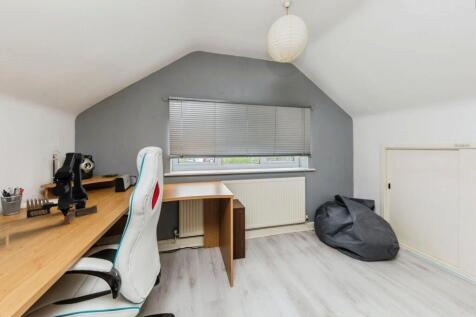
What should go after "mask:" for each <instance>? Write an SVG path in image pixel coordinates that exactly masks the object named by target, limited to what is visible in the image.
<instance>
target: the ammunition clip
mask: <svg viewBox="0 0 476 317" xmlns="http://www.w3.org/2000/svg"><path fill="white" fill-rule="evenodd" d="M47 202H50V200H49V197H48V196H46V198H45V197H42V198H40V197H39V198H38V199H37V198H34V199H33V198H31V199H30V200H29V199H28V198H27V199H26V202H25V203H26V206H25V208H26V219H31V218H36V217H42V216H46V215H50V214H52V213H51V212H52V211H51V209H48V210H42V205H43V204H44V203H47Z"/></svg>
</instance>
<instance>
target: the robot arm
mask: <svg viewBox="0 0 476 317" xmlns="http://www.w3.org/2000/svg"><path fill="white" fill-rule="evenodd" d="M84 159H85V155H84V154H83V153H82V152H66V153H65V159H64V160H63V163H62V166H61V167H60V168H57V170H56V171H55V173H54V176H53V181H52V185H55V186H54V187H52V188H51V193H52V194H51V195H53V196H55V197H58V198H57V202H53V201H49V202H47V203H46V202H45V203H44V204H43V205H42V211H43V210H46V211H47V210H48V209H50V210H51V209H52V208H57V210H59V211H60V212H61V213H62V215H63V217H64V218H65V216H66V215H69V211H70V209H73V208H74V209H76V210H79V209H83V208H87V207H86V205H87V201H89V195H88V193H87V191H86V188H84V187H83V182H82V180H83V178H82V169H81V168H82V167H81V166H82V164H83V162H84ZM72 184H73V185H72Z"/></svg>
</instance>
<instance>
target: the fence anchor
mask: <svg viewBox="0 0 476 317" xmlns="http://www.w3.org/2000/svg"><path fill="white" fill-rule="evenodd" d="M72 211H75V218H77V217H82V216H86V215H90V214H95V213H98V205H97V204H96V205H95V204H94V205H91V206H88V207H86V208H83V209H79V210H76V209H75V208H74V209H71V212H72Z"/></svg>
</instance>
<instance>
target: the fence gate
mask: <svg viewBox="0 0 476 317" xmlns="http://www.w3.org/2000/svg"><path fill="white" fill-rule="evenodd" d="M75 219H76V217H75V211H72V210H71V212H70V213H68V214H67V215H66V216H65V217H64V222H65V223H64V224H65V225H70V224H71V223H72V222H73V221H74V220H75Z"/></svg>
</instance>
